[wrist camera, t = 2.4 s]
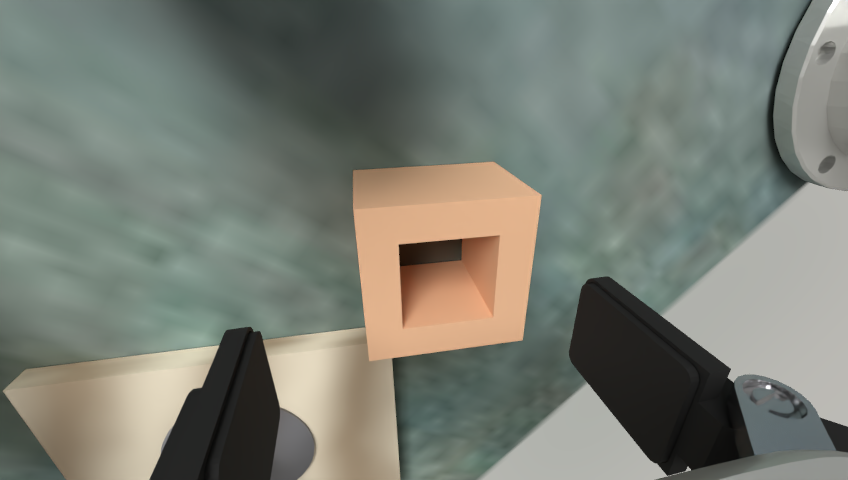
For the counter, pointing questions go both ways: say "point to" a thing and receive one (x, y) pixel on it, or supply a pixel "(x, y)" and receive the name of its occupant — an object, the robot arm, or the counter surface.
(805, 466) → the robot arm
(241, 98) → the counter surface
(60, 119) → the counter surface
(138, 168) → the counter surface
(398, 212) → the ring
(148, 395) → the post stand
